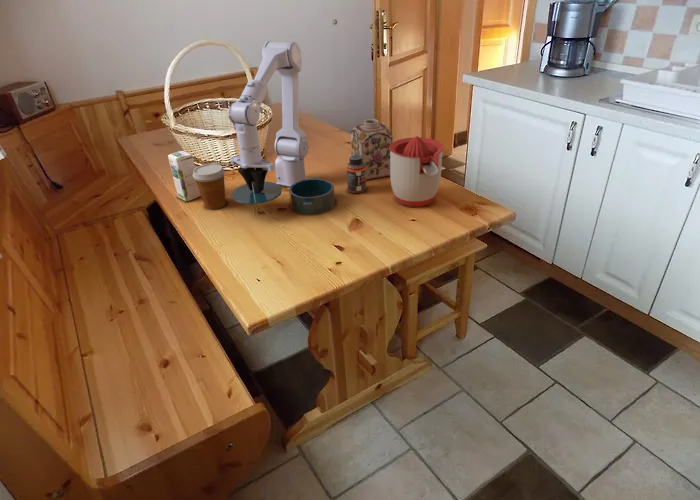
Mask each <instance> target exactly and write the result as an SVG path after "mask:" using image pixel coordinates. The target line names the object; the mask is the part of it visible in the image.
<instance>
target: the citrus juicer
mask: <svg viewBox="0 0 700 500" xmlns="http://www.w3.org/2000/svg"><path fill="white" fill-rule="evenodd" d="M389 149H390V175H389V176H390V186H391V190H392V193H393V196H394V198H395V200H396V202H398V204H401V205H403V206H405V207H409V208H413V207H423V206H424V207H425V206H427V205H430V204H431V203H432V202H433V201H434V200H435V198H436V196H437V193H438V190H439V187H440V183H441V177H442V166H443V165H442V164H443V152H444V151H443V150H444V149H445V147H444V145H443V143H442V142H440V141H438V140H436V139H432V138H429V137H427V138H426V137H420V136H418V135H417V136H416V135H415V136H413V137H405V138H400V139H397V140H395V141H393V143H392V144H391V145H390V147H389Z"/></svg>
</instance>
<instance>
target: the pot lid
mask: <svg viewBox="0 0 700 500" xmlns="http://www.w3.org/2000/svg"><path fill="white" fill-rule="evenodd" d="M251 185H252V191H250V190H249V188H248V185H247V183H245V184H242V185H240V186H238V187H236V188H235V189H234V190H233V191H232V193H231V198H232V200H233V201H234V202H236V203H238V204H242V205H261V204H266V203H269V202H272V201H274V200H276V199H277V198H279V197H280V196H281V194H282V193H283V189H282V186H281V185H279V184H276V182H272V181H267V180H265V182H264V190H263V191H261V192H257V189H256V184H255V180H254V179H253V180H251Z"/></svg>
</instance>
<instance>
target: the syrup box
mask: <svg viewBox="0 0 700 500" xmlns="http://www.w3.org/2000/svg"><path fill="white" fill-rule="evenodd" d="M167 159H168V163H169V166H170V170H171V175H172V179H173V183H174V187H175V190H176V195H177V198H180V199H181V200H183V201H185V202H189V201H192V200H195V199H197V198H199V197H202V196H201V193H200V191H199V188H198V186H197V183H196V180H195V179H194V178H193V176H192V175H193V170H194V169H195V168H196V165H195V160H194V156H193V154H192V153H189V152H188V151H184V150H179V151H176V152H173V153H170V154H168V155H167Z"/></svg>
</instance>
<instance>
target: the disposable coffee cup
mask: <svg viewBox="0 0 700 500" xmlns="http://www.w3.org/2000/svg"><path fill="white" fill-rule="evenodd" d="M225 172H226V171H225V169H224V167H223V166H222V165H221V164H219V163H205V164H201V165H199V166H195V169H194V170H193V175H192V176H193V178H194V179H195V180H196V183H197V186H198V188H199V191H200V193H201V196H200V197H201V198H202V201H203V204H204V206H205V208H206V209H207V210H217V209H221V208H223V207H225V206H226V204H227V202H226V184H225Z"/></svg>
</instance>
